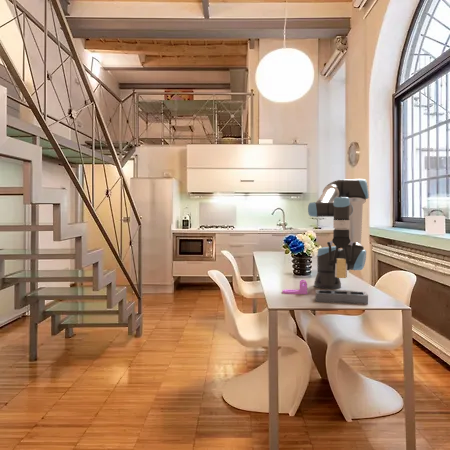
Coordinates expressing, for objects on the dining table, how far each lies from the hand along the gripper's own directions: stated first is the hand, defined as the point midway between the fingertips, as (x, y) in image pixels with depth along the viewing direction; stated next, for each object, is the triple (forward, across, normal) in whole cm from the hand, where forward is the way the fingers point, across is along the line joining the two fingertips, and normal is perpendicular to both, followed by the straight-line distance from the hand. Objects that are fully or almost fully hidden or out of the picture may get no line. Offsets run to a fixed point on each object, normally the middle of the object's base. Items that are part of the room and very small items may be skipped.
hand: (340, 276), depth 193 cm
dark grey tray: (+12, 0, 0) cm, 12 cm away
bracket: (+12, -23, +15) cm, 30 cm away
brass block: (0, 0, 0) cm, 0 cm away
